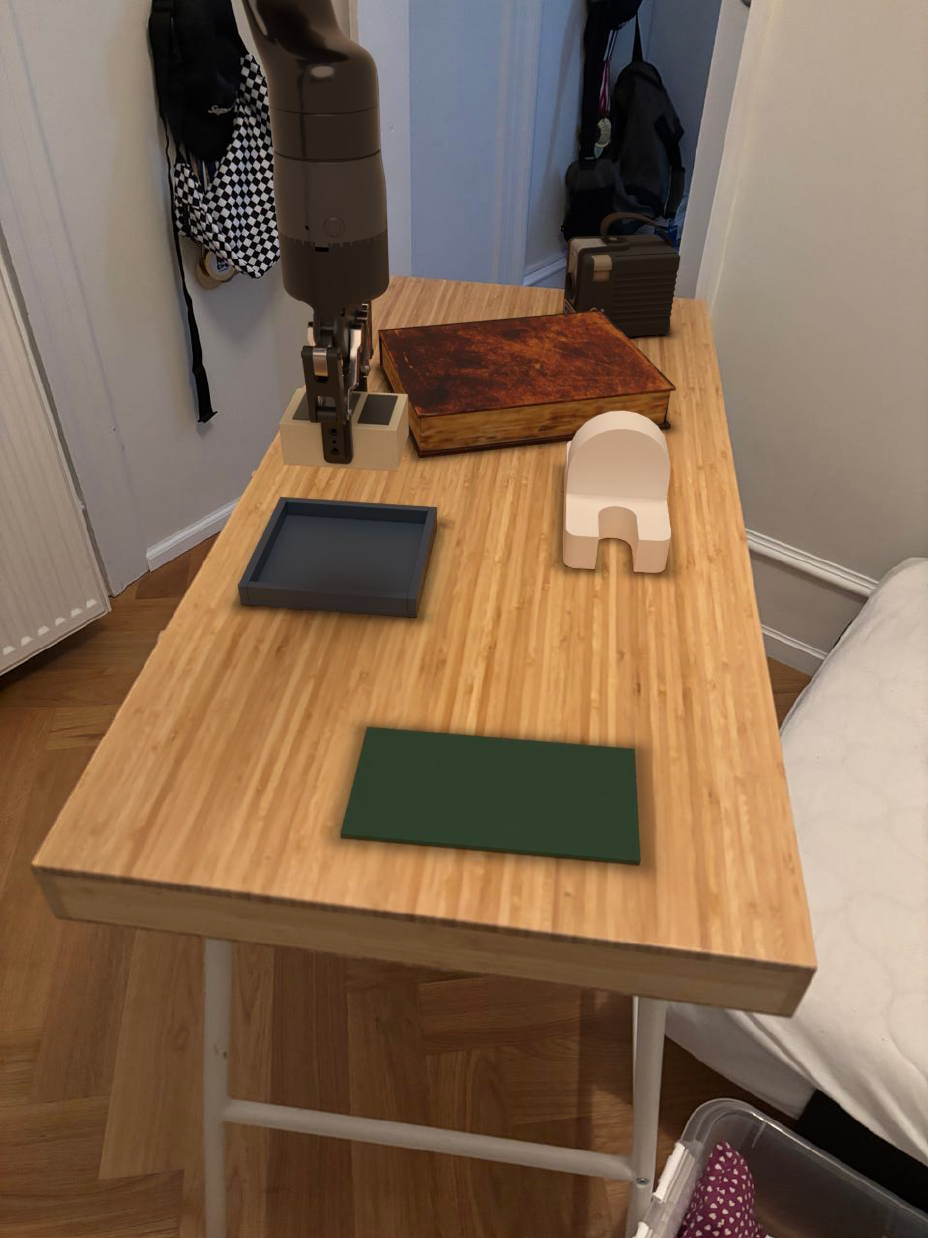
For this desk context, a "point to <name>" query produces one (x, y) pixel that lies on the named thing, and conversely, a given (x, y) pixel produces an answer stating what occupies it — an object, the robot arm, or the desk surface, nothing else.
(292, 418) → the beige rectangular block
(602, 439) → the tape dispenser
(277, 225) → the robot arm
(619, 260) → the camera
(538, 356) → the book
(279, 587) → the tray
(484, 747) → the mat
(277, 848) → the desk surface
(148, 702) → the desk surface
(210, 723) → the desk surface
